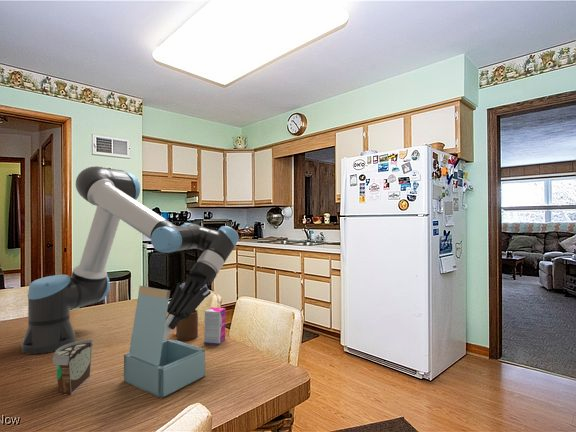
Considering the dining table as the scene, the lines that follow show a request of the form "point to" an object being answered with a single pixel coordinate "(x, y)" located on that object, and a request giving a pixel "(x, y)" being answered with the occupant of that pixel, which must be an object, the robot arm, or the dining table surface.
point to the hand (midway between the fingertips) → (160, 338)
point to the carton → (166, 369)
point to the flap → (149, 324)
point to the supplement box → (214, 325)
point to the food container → (73, 365)
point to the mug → (188, 327)
